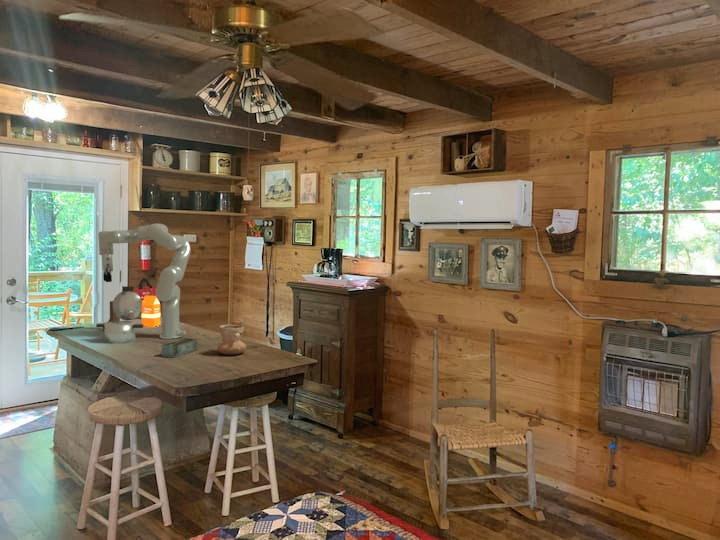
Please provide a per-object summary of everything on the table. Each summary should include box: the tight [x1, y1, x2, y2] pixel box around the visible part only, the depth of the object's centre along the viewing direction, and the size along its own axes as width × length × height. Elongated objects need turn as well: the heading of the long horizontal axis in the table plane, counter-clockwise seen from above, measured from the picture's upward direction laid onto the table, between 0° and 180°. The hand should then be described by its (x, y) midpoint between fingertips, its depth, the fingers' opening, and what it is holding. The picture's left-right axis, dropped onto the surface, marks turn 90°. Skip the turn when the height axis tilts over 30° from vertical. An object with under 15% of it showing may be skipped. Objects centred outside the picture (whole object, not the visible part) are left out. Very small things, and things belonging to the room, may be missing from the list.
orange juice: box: [141, 294, 161, 328], centre depth 359 cm, size 8×9×20 cm
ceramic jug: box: [216, 324, 247, 356], centre depth 283 cm, size 18×14×14 cm
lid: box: [112, 286, 143, 321], centre depth 321 cm, size 17×20×4 cm
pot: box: [95, 320, 145, 344], centre depth 312 cm, size 26×17×10 cm, turn 88°
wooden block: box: [102, 300, 121, 332], centre depth 343 cm, size 9×4×18 cm, turn 139°
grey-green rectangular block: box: [161, 337, 199, 358], centre depth 282 cm, size 8×19×7 cm, turn 159°
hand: (107, 281), depth 325 cm, fingers open, 9 cm apart
